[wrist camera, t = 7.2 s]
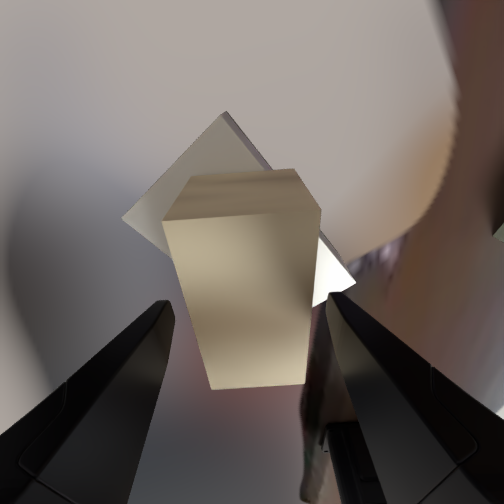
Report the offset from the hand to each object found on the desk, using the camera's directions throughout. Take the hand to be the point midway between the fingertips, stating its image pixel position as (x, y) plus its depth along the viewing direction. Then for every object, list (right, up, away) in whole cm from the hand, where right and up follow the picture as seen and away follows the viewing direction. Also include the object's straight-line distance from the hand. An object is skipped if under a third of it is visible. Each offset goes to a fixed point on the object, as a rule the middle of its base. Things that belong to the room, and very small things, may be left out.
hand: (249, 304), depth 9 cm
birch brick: (0, +2, +3) cm, 3 cm away
